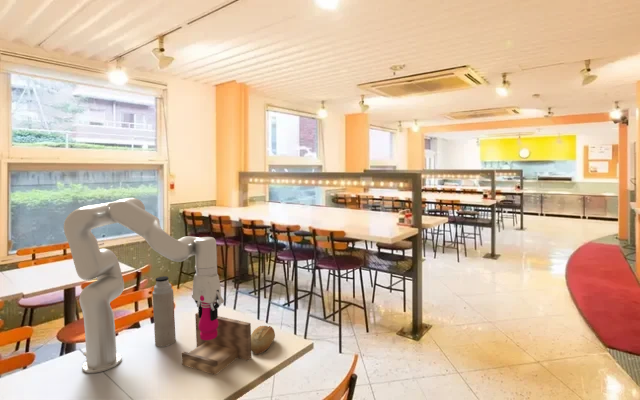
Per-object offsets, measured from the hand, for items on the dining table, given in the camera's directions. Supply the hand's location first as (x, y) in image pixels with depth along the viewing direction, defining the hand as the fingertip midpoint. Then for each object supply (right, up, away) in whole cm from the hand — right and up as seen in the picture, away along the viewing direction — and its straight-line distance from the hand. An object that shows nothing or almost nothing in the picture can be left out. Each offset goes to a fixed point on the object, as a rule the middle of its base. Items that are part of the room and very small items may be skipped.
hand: (208, 317), depth 133 cm
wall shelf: (+1, -17, +3) cm, 17 cm away
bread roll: (+19, -16, +13) cm, 28 cm away
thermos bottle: (-24, -16, +17) cm, 33 cm away
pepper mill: (0, -8, +1) cm, 8 cm away
